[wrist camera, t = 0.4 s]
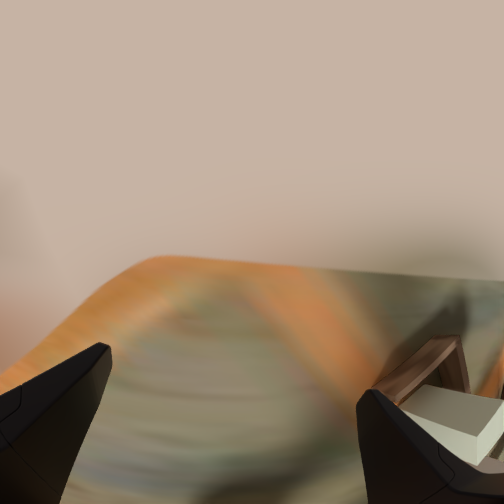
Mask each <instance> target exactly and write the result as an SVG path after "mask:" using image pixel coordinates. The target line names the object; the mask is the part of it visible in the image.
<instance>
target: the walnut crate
mask: <svg viewBox="0 0 504 504" xmlns="http://www.w3.org/2000/svg"><path fill="white" fill-rule="evenodd" d="M437 366H438V369H439V373H440V377H441V381H442V386H443V388H444V389H448V390H453V391H457V392H462V393H467V394H471V391H470V384H469V378H468V372H467V367H466V362H465V357H464V352H463V348H462V343H461V339H460V335H434V336H433V337H432V338H431V339H430V340H429V341H428V342H427V343H426V344H425V345H424V346H422V347H421V348H420V349H419V350H418V351H417V352H416V353H415V354H413V355H412V356H411V357H410V358H409V359H408V360H406V361H405V362H404V363H403V364H402V365H400V366H399V367H398V368H397V369H395V370H394V371H393V372H392V373H390V374H389V375H388V376H386V377H385V378H384V379H382V380H381V381H380V382H378V383H377V384H376V385H374V386H373V387H372V389H378V390H379V391H380V392H381V393H382V394H384V395H385V396H386V397H387V398H388V399H389V400H391V401H393V402H395V403H397V402H398V401H399V400H401V399H402V398H403V397H404V396H405V395H407V394H408V393H409V392H410V391H411V390H412V389H413V388H415V387H416V386H417V385H418V384H419V383H420V382H421V381H422V380H423V379H425V378H426V377H427V376H428V375H429V374H430V373H431V372H432V371H433V370H434V369H435V368H436V367H437Z"/></svg>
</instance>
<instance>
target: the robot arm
mask: <svg viewBox="0 0 504 504" xmlns="http://www.w3.org/2000/svg"><path fill="white" fill-rule="evenodd" d="M111 369H112V354H111V347H110V346H109V345H107V344H104V343H101V342H98V343H96V344H94V345H92V346H91V347H89V348H87V349H85V350H83V351H82V352H80V353H78V354H76V355H74V356H72V357H71V358H69V359H67V360H65V361H63V362H61V363H60V364H58V365H56V366H54V367H52V368H51V369H49V370H47V371H45V372H43V373H41V374H40V375H38V376H36V377H34V378H32V379H30V380H29V381H27V382H25V383H23V384H22V385H19V386H17V387H16V388H14V389H12V390H10V391H8V392H6V393H4V394H2V395H0V504H59V503H60V500H61V496H62V494H63V491H64V488H65V485H66V483H67V480H68V477H69V475H70V472H71V470H72V467H73V465H74V462H75V460H76V457H77V455H78V452H79V450H80V447H81V445H82V443H83V440H84V438H85V436H86V433H87V431H88V429H89V427H90V424H91V422H92V420H93V418H94V416H95V413H96V411H97V409H98V407H99V404H100V401H101V398H102V395H103V392H104V389H105V386H106V383H107V380H108V377H109V375H110V372H111ZM356 415H357V427H358V440H359V447H360V452H361V458H362V464H363V470H364V476H365V483H366V490H367V497H368V504H504V473H491V474H489V473H483V472H480V471H478V470H477V469H475V468H473V467H472V466H470V465H469V464H467V463H466V462H464V461H463V460H462V459H460V458H459V457H457V456H456V455H454V454H453V453H452V452H450V451H449V450H448V449H447V448H445V447H444V446H443V445H442V444H441V443H439V442H437V440H436V439H435V438H433V437H432V436H431V435H430V434H429V433H428V432H426V431H425V430H424V429H423V428H422V427H421V426H419V425H418V424H417V423H416V422H415V421H414V420H412V419H411V418H410V417H409V416H408V415H407V414H405V413H404V412H403V411H402V410H401V409H400V408H398V407H397V406H396V405H395V404H394V403H393V402H392V401H390V400H389V399H388V398H387V397H386V396H385V395H384V394H382V393H381V392H380V391H379V390H378V389H368V390H366V391H365V393H364V394H363V395H362V397H361V398H360V399H359V401H358V402H357V405H356Z"/></svg>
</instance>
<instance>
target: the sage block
mask: <svg viewBox="0 0 504 504" xmlns="http://www.w3.org/2000/svg"><path fill="white" fill-rule="evenodd" d="M398 408H400V409H401V410H402V411H403V412H404V413H405V414H407V415H408V416H409V417H410V418H411V419H412V420H414V421H415V422H416V423H417V424H418V425H419V426H421V427H422V428H423V429H424V430H425V431H426V432H428V433H429V434H430V435H431V436H432V437H433V438H435V439H436V440H437V442H439V443H441V444H442V445H443V446H444V447H445V448H447V449H448V450H449V451H450V452H452V453H453V454H454V455H456V456H457V457H459V458H460V459H462V460H463V461H466V462H468V463H471V464H473V465H476V466H477V465H478V464H479V463H480V462H481V461H482V460H483V458H484V457H485V456H486V455H487V453H488V452H489V451H490V450H491V448H492V447H493V446H494V444H495V443H496V442H497V440H498V439H499V438H500V436H501V435H502V433H503V432H504V400H501V399H495V398H489V397H483V396H478V395H472V394H467V393H462V392H457V391H453V390H448V389H444V388H439V387H435V386H431V385H427V384H424V385H422V386H421V387H420V388H419V389H418V390H417V391H416V392H415V393H414V394H412V395H411V396H410V397H409V398H408V399H407V400H405V401H404V402H403V403H402V404H401V405H399V406H398Z"/></svg>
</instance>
